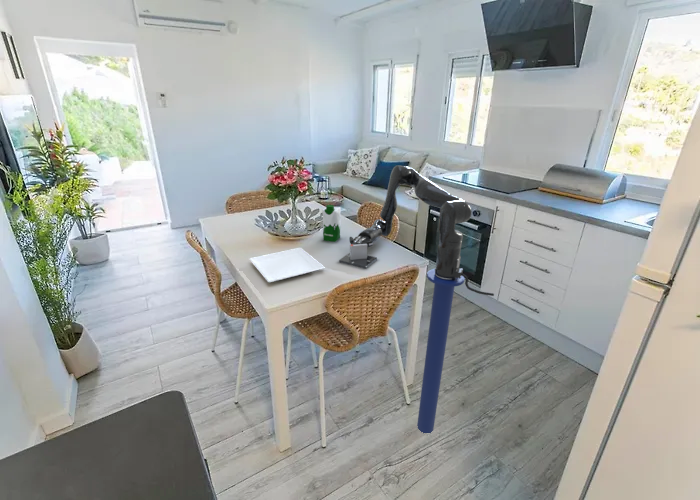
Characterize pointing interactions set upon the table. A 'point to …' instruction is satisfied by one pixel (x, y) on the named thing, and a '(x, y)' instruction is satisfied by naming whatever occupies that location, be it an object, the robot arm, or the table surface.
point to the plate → (285, 264)
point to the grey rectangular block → (358, 251)
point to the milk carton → (331, 223)
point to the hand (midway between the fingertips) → (352, 247)
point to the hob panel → (358, 261)
